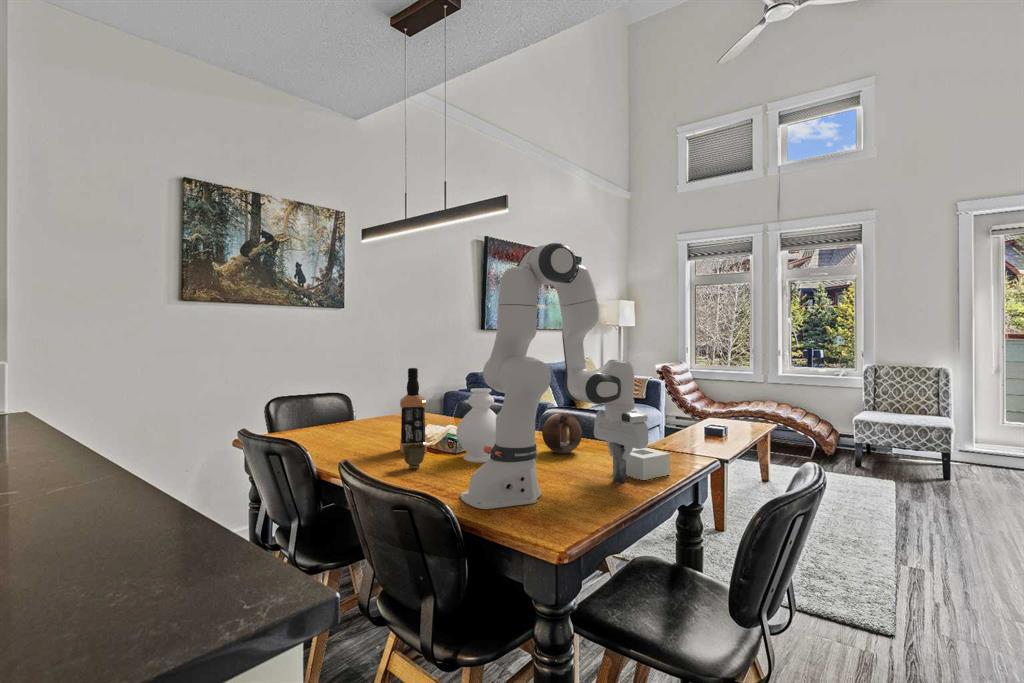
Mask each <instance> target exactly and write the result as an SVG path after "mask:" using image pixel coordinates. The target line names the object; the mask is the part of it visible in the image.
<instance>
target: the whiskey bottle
mask: <svg viewBox="0 0 1024 683" xmlns="http://www.w3.org/2000/svg"><path fill="white" fill-rule="evenodd" d="M418 371H419V369H418V368H417V367H409V368H408V369H407V379H408V380H407V382H406V383H407V384H406V394H405V395H404V396H403V397H402V398H400V400H399V403H400V404H399V408H401V416H400V417H401V418H400V419H401V421H400V423H401V425H400V428H401V429H400V431H401V432H400V440H399V455H401V456H402V455H403V456H404V454H403V445H404V444H405V445H406V446H407V444H408V445H410V443H411V444H413V443H414V444H415V445H417V443H418V444H420V443H422V444H424V446H425V453H424V455H425V454H427V453H428V451H427V450H428V448H427V440H426V416H425V415H426V414H425V413H426V412H425V408H426V407H427V401H426V398H424V397H423V396H422V395H420V393H419V392H420V383H419V379H418V377H419V376H418V374H419V372H418Z"/></svg>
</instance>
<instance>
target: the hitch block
mask: <svg viewBox="0 0 1024 683" xmlns="http://www.w3.org/2000/svg"><path fill="white" fill-rule="evenodd" d="M626 475H628V476H627V477H629V476H631V477H630V478H632V477H635V478H638V479H641V480H646V479H650V478H655V477H660V476H665V475H671V453H669V452H666V451H662V450H658V449H657V450H656V449H653V448H649V447H646V448H643V449H636V448H633V449H632V451H631V453H630V459H629V460H626ZM665 477H666V476H665ZM635 478H634V479H635ZM638 479H637V480H638ZM641 480H640V481H641Z"/></svg>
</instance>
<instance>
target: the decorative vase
mask: <svg viewBox="0 0 1024 683" xmlns="http://www.w3.org/2000/svg"><path fill="white" fill-rule="evenodd" d="M470 392H471V393H472V394H471V395H470V396H469V397H468V399H467V402H468V405H470V407H471V409H470V410H469V411H468V412H467V413H466V414H465V415H464V416H463V418H461V420H460V421H459V423H458V425H457V427H456V430H455V431H456V434H455V436H456V440H457V441H458V443H459V444H460V446H461V447H462V448H463V450H464V451H465V452H466V453H467V454H464V456H463V460H464V461H466V462H471V463H485V462H487V461H488V460H489V459H490V455H491V453H490V454H487V453H484V451H485V450H483V448H486V447H485V446H489V447H491V448H493V447H494V445H495V443H496V416H497V414H496V412H494V411H493V410H492V409H491V406H492V405H493V404H494V402H495V398H494V397H493V396H492V395H491V394H490V393H491V392H492V388H486V387H485V388H484V387H482V388H476V387H475V388H471V389H470Z"/></svg>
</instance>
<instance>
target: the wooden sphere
mask: <svg viewBox="0 0 1024 683" xmlns="http://www.w3.org/2000/svg"><path fill="white" fill-rule="evenodd" d="M541 432H542V435H541V436H542V440H543V443H544V444H545V445H546V447H547V448H548V449H549V450H550V451H552V452H553V453H557V454H568V453H570V452H572V451H573V452H574V450H576V449H577V447H579V445H580V443H581V441H582V437H583V430H582V426H581V424H580V422H579V420H577V418H576V417H575V416H573V415H571V414H568V413H564V412H561V413H560V412H559V413H555V414H552V415H551V416H549V417H548V418H547V420H545V422H544V424H543V427H542V431H541Z"/></svg>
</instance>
